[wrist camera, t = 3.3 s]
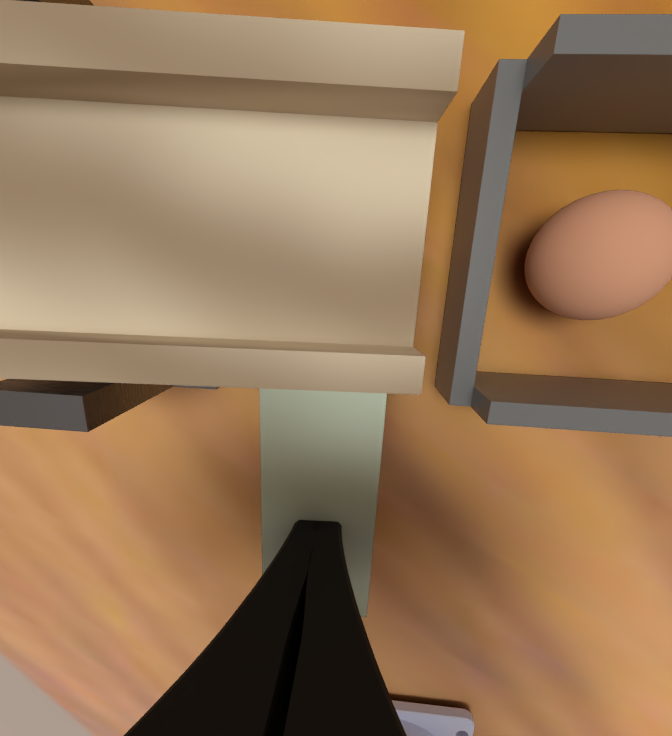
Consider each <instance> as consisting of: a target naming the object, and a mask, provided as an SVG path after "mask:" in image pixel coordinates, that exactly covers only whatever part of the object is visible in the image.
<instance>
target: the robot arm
mask: <svg viewBox="0 0 672 736" xmlns="http://www.w3.org/2000/svg"><path fill="white" fill-rule="evenodd" d="M474 728H475V724H474V720H473V716H472V714H471V713H470V712H469V711H468V710H466V709H463V708H454V707H446V706H437V705H429V704H421V703H412V702H404V701H395V700H391V698H390V695H389V693H388V690H387V688H386V685H385V682H384V680H383V677H382V675H381V672H380V670H379V667H378V665H377V662H376V659H375V657H374V654H373V651H372V648H371V645H370V643H369V640H368V637H367V634H366V631H365V628H364V625H363V622H362V619H361V616H360V613H359V609H358V606H357V603H356V599H355V596H354V592H353V588H352V585H351V581H350V577H349V573H348V569H347V564H346V559H345V554H344V549H343V542H342V526H341V524H340V523H339V522H335V521H315V520H298V521H297V522H295V523H294V525H293V527H292V529H291V531H290V533H289V535H288V536H287V538H286V540H285V542H284V543H283V545H282V546H281V548H280V550H279V551H278V553H277V554H276V556H275V557H274V559H273V561H272V562H271V563H270V565H269V566H268V568H267V569H266V571H265V572H264V574H263V575H262V576H261V578H260V579H259V581H258V582H257V584H256V585H255V586H254V588H253V589H252V591H251V592H250V593H249V595H248V596H247V597H246V598H245V600H244V601H243V602H242V604H241V605H240V606H239V608H238V609H237V610H236V611H235V613H234V614H233V615H232V617H231V618H230V619H229V621H228V622H227V623H226V624H225V626H224V627H223V628H222V629H221V630H220V632H219V633H218V634H217V635H216V636H215V638H214V639H213V640H212V641H211V642H210V644H209V645H208V646H207V647H206V648H205V649H204V651H203V652H202V653H201V654H200V655H199V656H198V657H197V659H196V660H195V661H194V662H193V663H192V664H191V665H190V666H189V668H188V669H187V670H186V671H185V672H184V673H183V674H182V675H181V676H180V677H179V679H178V680H177V681H176V682H175V683H174V684H173V685H172V686H171V687H170V688H169V689H168V690H167V691H166V692H165V693H164V694H163V696H162V697H161V698H160V699H159V700H158V701H157V702H156V703H155V704H154V705H153V706H152V707H151V708H150V709H149V710H148V711H147V712H146V713H145V714H144V716H143V717H142V718H141V719H140V720H139V721H138V722H137V723H136V724H135V725H134V726H133V727H132V728H131V729H130V730H129V731H128V732H127V733H126V734H125V735H124V736H473V732H474Z"/></svg>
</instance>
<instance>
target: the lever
mask: <svg viewBox="0 0 672 736" xmlns="http://www.w3.org/2000/svg"><path fill="white" fill-rule="evenodd" d="M464 33H465V31H461V30H447V29H432V28H417V27H402V26H387V25H373V24H358V23H343V22H328V21H313V20H298V19H284V18H269V17H254V16H239V15H224V14H210V13H195V12H180V11H165V10H150V9H136V8H121V7H106V6H91V5H76V4H62V3H47V2H32V1H17V0H0V378H5V379H31V380H56V381H82V382H108V383H133V384H159V385H184V386H210V387H235V388H259V392H260V455H261V518H262V575H263V574H264V572H265V571H266V569H267V568H268V566H269V565H270V563H271V562H272V561H273V559H274V557H275V556H276V554H277V553H278V551H279V550H280V548H281V546H282V545H283V543H284V542H285V540H286V538H287V536H288V535H289V533H290V531H291V529H292V527H293V525H294V523H295V522H297V521H298V520H315V521H335V522H339V523H340V524H341V526H342V542H343V549H344V554H345V559H346V564H347V569H348V573H349V577H350V581H351V585H352V588H353V592H354V596H355V599H356V603H357V606H358V609H359V613H360V616H361V617H367V608H368V597H369V586H370V575H371V564H372V553H373V542H374V531H375V520H376V509H377V498H378V487H379V476H380V465H381V454H382V443H383V432H384V421H385V410H386V399H387V393H389V394H415V395H421V392H422V384H423V375H424V367H425V359H426V356H425V355H423V354H422V353H421V352H419V351H418V350H417V349H415V348H414V347H413V344H414V334H415V325H416V316H417V307H418V298H419V288H420V279H421V270H422V261H423V252H424V242H425V233H426V224H427V215H428V206H429V196H430V187H431V178H432V169H433V160H434V150H435V141H436V132H437V123H438V121H439V119H440V118H441V116H442V115H443V113H444V112H445V110H446V109H447V107H448V105H449V104H450V102H451V101H452V99H453V98H454V96H455V95H456V93H457V92H458V83H459V75H460V67H461V58H462V50H463V41H464Z"/></svg>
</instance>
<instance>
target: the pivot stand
mask: <svg viewBox="0 0 672 736" xmlns="http://www.w3.org/2000/svg"><path fill="white" fill-rule="evenodd" d="M17 1H32V2H47V3H62V4H76V5H91V6H94V5H93V4H92V3H91V2H90V0H17ZM173 386H174V387H189V388H204V389H218V388H219V387H210V386H184V385H159V384H133V383H108V382H82V381H56V380H31V379H6V380H3V381H0V425H2V426H15V427H29V428H42V429H55V430H68V431H81V432H89V431H91V430H93V429H94V428H96V427H98V426H100V425H102V424H104V423H106V422H107V421H109V420H111V419H113V418H115V417H117V416H119V415H120V414H122V413H124V412H126V411H128V410H130V409H132V408H134V407H135V406H137V405H139V404H141V403H143V402H145V401H147V400H148V399H150V398H152V397H154V396H156V395H158V394H160V393H161V392H163V391H165V390H167V389H169V388H171V387H173Z"/></svg>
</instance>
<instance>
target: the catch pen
mask: <svg viewBox="0 0 672 736" xmlns="http://www.w3.org/2000/svg"><path fill="white" fill-rule="evenodd" d="M516 130H529V131H580V132H631V133H672V14H560V16H559V17H558V18H557V20H556V21H555V23H554V24H553V25H552V27H551V28H550V29H549V31H548V32H547V33H546V35H545V36H544V37H543V39H542V40H541V41H540V43H539V44H538V45H537V47H536V48H535V49H534V51H533V52H532V54H531V55H530V56H529V58H528V59H499V61H498V62H497V64H496V65H495V67H494V69H493V70H492V72H491V73H490V75H489V77H488V78H487V80H486V82H485V83H484V85H483V86H482V88H481V90H480V91H479V93H478V94H477V96H476V98H475V99H474V101H473V102H472V104H471V111H470V119H469V127H468V134H467V142H466V150H465V157H464V165H463V173H462V180H461V188H460V196H459V203H458V211H457V219H456V226H455V234H454V242H453V249H452V257H451V265H450V273H449V280H448V288H447V296H446V303H445V311H444V319H443V326H442V334H441V342H440V349H439V357H438V365H437V372H436V380H435V387H436V388H437V390H438V391H439V392H440V394H441V395H442V396H443V397H444V399H445V400H446V401H447V403H448V404H449V405H457V406H471V407H472V408H473V410H474V411H475V412H476V413H477V414H478V415H479V416H480V417H481V418H482V419H483V420H484V421H485V422H486V423H487V424H494V425H509V426H523V427H538V428H552V429H567V430H581V431H595V432H610V433H624V434H639V435H653V436H668V437H672V383H658V382H641V381H625V380H608V379H592V378H575V377H559V376H542V375H526V374H509V373H493V372H476V370H477V364H478V358H479V352H480V346H481V340H482V333H483V327H484V321H485V315H486V309H487V303H488V297H489V290H490V284H491V278H492V272H493V266H494V260H495V254H496V247H497V241H498V235H499V229H500V223H501V217H502V211H503V204H504V198H505V192H506V186H507V180H508V174H509V168H510V161H511V155H512V149H513V143H514V137H515V131H516Z"/></svg>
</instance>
